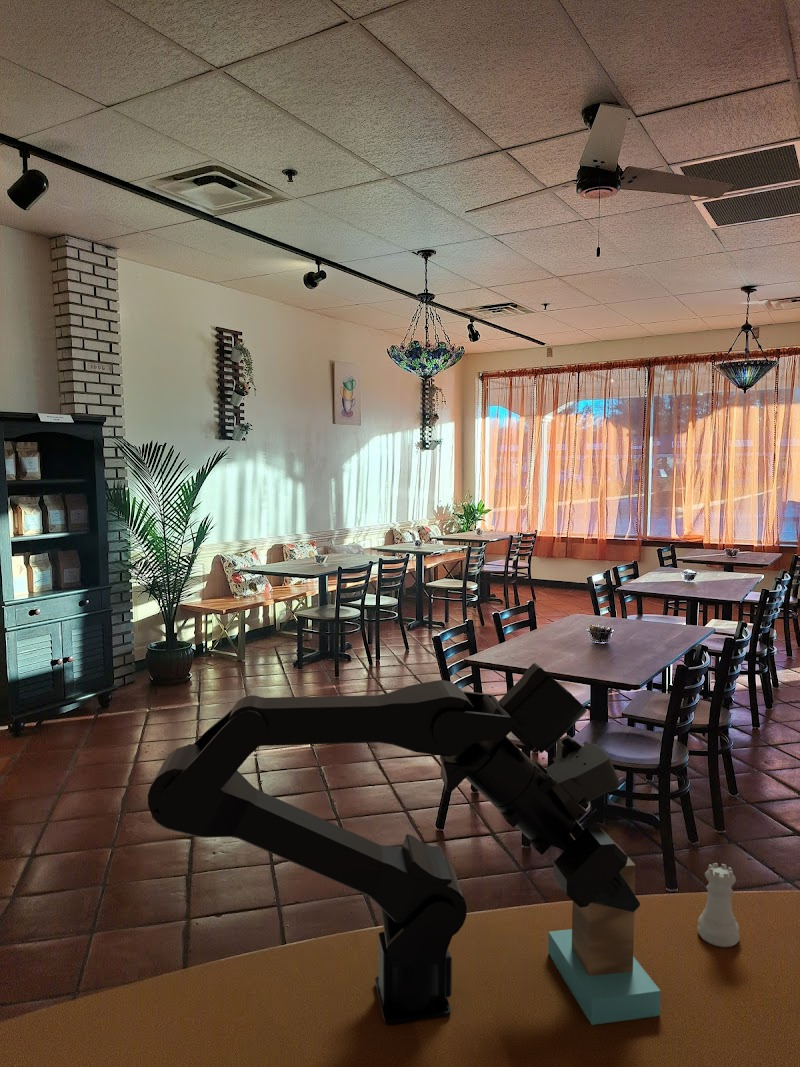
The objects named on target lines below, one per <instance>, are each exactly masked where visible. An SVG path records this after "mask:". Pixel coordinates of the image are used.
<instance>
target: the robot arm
mask: <svg viewBox="0 0 800 1067" xmlns="http://www.w3.org/2000/svg"><path fill="white" fill-rule="evenodd" d="M587 712H588V710H587V708H586V707H585V706H584V705H583V704H582V703H581V702H580V701H579V700H578V699H577V698H576V697H575V696H574V695H573V694H572V693H571V692H570V691H569V690H567V688H565V687H564V686H563V685H562V684H561V683H559V682H558V681H557V680H556V679H555V678H554V677H551V676H550V675H549V674H548V672H546V670H544V669H543V667H541V666H540V665H539V664H537V663H536V662H534V663H532V664H530V666H529V667H528V668H527V669H526V670H525V671H524V673H523V674H522V677H521V678H520V679H519V680H517V682H516V683H515V684H514V685H513V686H512V687H511V688H510V689H509V690H508V691H507V692H506V693H505V694H504V695H503V696H502V697H501V698H500V699H499V700H498V699H497V698H496V696H495V695H494V694H491V693H482V692H475V691H474V692H473V691H466V690H462V689H461V688H460V687H459V685H457V684H456V683H455V682H452V681H449V680H445V679H444V680H443V679H439V680H432V681H431V680H430V681H426V682H423V683H422V682H421V683H416V684H412V685H408V686H405V687H401V688H399V689H396V690H394V691H391V692H388V693H383V694H378V695H375V694H374V695H337V696H336V695H334V696H333V695H332V696H331V695H329V696H286V697H285V696H281V697H262V696H259V695H247V696H244V697H242V698H240V699H239V700H237V701H236V702H235V704H234V705H233V706H232V708H231V709H230V710H229V711H228V712H227V713H226V714H225V715H224V716H222V718H220V719H219V720H218V721H217V722H215V723H213V725H211V726H210V727H209V728H208V729H207V730H206V731H204V732H203V734H201V736H200V737H199V738H198V739H196V740H195V742H194V743H188V744H187V745H183V746H181V747H177V748H175V750H173V751H172V752H170V753H169V754H168V755H167V756H166V758H165V759H164V761H163V763H162V764H161V766H160V768H159V769H158V772H157V774H156V775H155V777H154V779H153V781H152V783H151V785H150V787H149V790H148V793H147V806H148V808H149V811H150V814H151V819H153V821H154V822H155V823H156V824H157V825H159V826H160V827H162V828H164V829H166V830H168V831H169V830H170V831H172V832H173V831H174V832H177V833H181V834H186V835H188V836H192V837H198V838H202V839H203V838H204V839H205V838H235V839H238V840H240V841H243V842H246V844H250V845H252V846H254V847H256V848H259V849H261V850H263V851H266V852H268V853H269V854H272V855H275V856H277V857H279V858H281V859H283V860H287V861H289V862H291V863H293V864H294V865H297V866H300V867H301V868H304V869H306V870H309V871H310V872H313V873H315V874H318V875H320V876H323V877H324V878H326V879H329V880H332V881H334V882H336V883H338V884H340V885H342V886H345V887H347V888H350V889H352V890H353V891H356V892H358V893H361V894H363V895H365V896H367V897H369V898H370V899H371V900H373V902H375V903H376V905H378V907H380V912H381V913H380V914H381V919H382V925H383V926H382V927H383V931H381V932H379V933H378V976H376V977H375V979H374V981H375V982H374V983H375V987H376V993H377V997H378V1001H379V1005H380V1008H381V1013H382V1014H381V1016H382V1019H383V1021H384V1022H383V1023H385V1024H387V1025H394V1024H400V1023H409V1022H417V1021H418V1022H419V1021H426V1020H432V1019H441V1018H448V1017H450V1016H451V1014H452V1013H451V1012H452V1008H451V1005H450V1002H449V1000H448V999H449V998H451V996H452V985H453V984H452V983H453V982H452V979H453V977H452V976H453V974H452V973H453V971H452V969H453V968H452V967H453V965H452V964H453V963H452V961H453V958H452V955H451V953H450V950H449V947H450V943H451V941H452V939H453V936H454V935H456V934H457V933H459V931H460V930H461V928H463V926H464V924H465V921H466V918H467V913H468V911H467V910H468V909H467V908H468V906H467V904H466V900H465V898H464V895H463V892H462V888H461V886H460V882H459V880H458V877H457V873H456V871H455V868H454V866H453V864H452V862H451V861H450V860H449V858H447V857H446V856H445V855H444V852H443V850H442V846H436V845H435V846H433V845H430V844H426V843H424V842H422V841H421V840H419V838H417V837H415V836H413V835H411V834H406V835H405V838H404V840H403V844H402V845H397V846H394V845H393V846H385V845H381V844H379V843H376V842H374V841H373V840H370V839H367V838H365V837H363V836H362V835H358V834H356V833H354V832H352V831H350V830H348V829H346V828H344V827H341V826H339V825H336V824H335V823H332V822H330V821H329V820H326V819H324V818H321V817H319V816H317V815H315V814H312V813H311V812H308V811H306V810H303V809H302V808H300V807H297V806H294V805H292V804H290V803H288V802H286V801H284V800H281V799H280V798H277V797H275V796H272V795H270V794H268V793H265V792H263V791H261V790H259V789H257V788H256V787H255V786H254V785H252V784H251V783H250V782H249V781H248V780H247V778H245V777H244V776H243V775H242V773H241V772H240V771H239V769H240V767H241V766H243V764H244V762H245V761H246V760H247V759H248V757H249V756H250V755H251V754H253V752H255V750H256V749H257V748H260V747H265V746H266V747H268V746H270V747H273V746H299V745H300V746H302V745H303V746H307V745H337V744H338V745H339V744H340V745H343V744H345V745H347V744H373V743H374V744H375V743H377V744H379V743H380V744H386V745H393V746H395V747H398V748H402V749H405V750H407V751H411V752H414V753H418V754H425V755H426V754H428V755H432V756H433V755H434V756H439V759H440V763H441V766H440V774H439V775H440V778H441V780H442V782H443V785H444V787H445V789H446V791H447V792H453V791H455V789H456V788H457V787H458V786H459V785H461V783H462V782H463V781H464V780H465V779H466V780H467V781H468V782H469V784H471V785H472V786H473V787H474V788H475V790H477V791H478V792H479V793H480V794H481V795H483V797H484V798H485V799H486V800H488V802H489V803H491V804H492V805H493V806H494V808H496V809H497V810H498V811H499V813H500V814H501V816H502V817H503V818H504V820H505V821H506V823H508V825H510V827H512V829H514V828H515V827H516V828H517V829H518V830H519V831H520V832H521V833H522V834H523V835H524V836H525V837H526V838H528V840H529V842H530V844H531V845H532V846H533V848H534V850H536V851H537V852H538V853H539V854H540V855H541V856H542V855H544V854H545V853H546V852H547V851H548V850H549V849H550V847H552V848H557V849H559V850H561V851H563V852H562V853H561V854H560V855H559V856H558V857H557V858H556V859H555V860H554V861H553V877H554V879H555V880H556V882H558V885H560V888H561V889H562V890H563V892H564V893H565V895H566V896H567V897H568V898H569V899H571V901H572V902H573V901H574V902H575V903H576V904H577V905H578V906H579V907H580V908H582V907H587V906H588V905H589V904H590V903H594V904H600V905H605V906H609V907H613V908H617V909H621V910H625V911H629V912H634V913H635V912H636V911H637V910H638V909H639V907H640V906H641V903H640V901H639V899H638V897H637V896H636V893H635V894H634V893H633V891H632V890H631V888H630V887H629V885H628V884H627V882H626V880H625V879H624V877H623V876H622V874H621V872H620V871H621V870H622V869H623V868H624V867H625V866H626V864H627V859H628V857H629V856H628V855H627V854H626V852H625V851H622V850H621V849H622V848H621V847H620V845H618V843H616V842H615V841H614V840H613V839H612V837H611V836H609V835H608V834H607V833H606V832H605V831H604V829H602V828H601V827H600V826H596V827H595V826H593V827H591V826H590V827H586V828H583V826H582V825H581V824H580V823H579V821H580V820H581V819H582V818H583V817H584V816H585V814H586V813H587V811H586V809H585V808H584V807H583V806H582V805H584V804H587V803H589V802H591V801H593V800H595V799H597V798H598V797H601V796H603V795H604V794H606V793H608V792H609V793H612V792H614V791H616V790H618V789H619V787H620V786H621V782H620V779H619V777H618V774H617V771H616V770H615V767H614V766H613V763H612V760H611V758H610V757H609V755H608V753H606V752H605V751H604V750H603V749H602V748H600V746H599V745H597V744H596V743H589V742H588V741H587V740H586V741H584V742H583V745H582V744H580V743H579V742H578V741H577V740H575V739H574V738H573V737H571V736H570V735H569V734H568V735H565V734H566V733H567V732H569V730H570V729H571V728H572V727H573V726H574V725H575V724H576V723H578V721H579V720H580V719H581V718H582V717H583V716H584V715H585V714H586V713H587ZM510 733H511V734H513V735H514V736H515V738H517V740H518V741H519V742H520V743H522V744H523V746H525V748H527V749H528V750H529V751H530V752H531V753H533V752H534V751H535V750H537V751H538V752H539V753H540V754H543V753H544V751H546V752H548V751H550V750H551V748H553V747H554V745H555V744H556V745H555V746H556V747H555V757H552V760H553V763H552V764H550V765H549V766H547V767H545V766H543V765H542V764H541V763H540V762H539V761H538V760H535V761H534V759H531V758H529V756H527V755H526V753H524V752H523V751H522V750H521V748H519V747H518V746H517V745H516V744H515V743H514V741H512V740H511V739H510V738H509V737H508V735H509V734H510ZM620 848H621V849H620Z"/></svg>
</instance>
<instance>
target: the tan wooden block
mask: <svg viewBox="0 0 800 1067" xmlns="http://www.w3.org/2000/svg"><path fill="white" fill-rule="evenodd" d="M620 849H621V850H622V848H621V847H620ZM622 851H623V850H622ZM623 852H624V851H623ZM636 866H637V865H636V864H635V862H633V861H632V859H631V858H630V857H629V856H628V859H627V864H626V866H625V867H624V868H623V869H622V870H621V871H620V872H621V874H622V876H623V877H624V879H625V880H626V882H627V884H628V885H629V887H630V888H631V890H632V891H633V893H634V894H635V895H636V872H637V871H636V868H637V867H636ZM571 908H572V909H571V910H572V912H571V913H572V915H571V929H572V949H573V951H574V952H575V954H576V956H577V957H578V959H579V961H580V962H581V964H582V966H583V967H584V969H585V971H586V972H587V974H588V976H593V975H604V974H614V973H624V972H633V956H634V942H635V939H634V938H635V936H634V935H635V911H634V912H629V911H625V910H621V909H617V908H613V907H609V906H605V905H600V904H594V903H590V904H589V905H588V906H587V907H582V908H580V907H579V906H578V905H577V904H576V903H575V902H574V901H573V900H572V907H571Z"/></svg>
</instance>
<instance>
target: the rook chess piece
mask: <svg viewBox="0 0 800 1067" xmlns="http://www.w3.org/2000/svg"><path fill="white" fill-rule="evenodd" d="M707 868H708V869H707V870H706V871H705V872H704V878H706V880H707V881H708V884H707V885H706V887H705V888H706V890H707V899H706V904H705V908H704V909H703V910H702V913H701V914H700V915H699V917H698V919H697V923H698V926H697V927H696V928H697V933H698V934H699V936H700V937H701V938H702V939H703V940H704V941H705V942H707V943H708V944H710V945H713V946H714V947H719V948H732V947H734V946H735V945H737V943H738V942H739V941H740V940H741V938H740V934H739V933H740V927H739V923H738V922H737V921H736V917H735V916H734V914H733V904H732V896H733V895H734V890H733V889H732V887H733V886H734V885H735V883H736V882H737V878H736V876H735V875H734V873H733V868H732V867H730V866H729V867H727V865H726V864H724V863H721V866H720V867H719V864H718V863H717V862H715V863H712V864H710V863H709V864H708V867H707Z"/></svg>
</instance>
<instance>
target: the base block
mask: <svg viewBox="0 0 800 1067" xmlns="http://www.w3.org/2000/svg"><path fill="white" fill-rule="evenodd" d="M547 942H548V945H547V946H548V949H547V950H548V952H547V954H548V953H549V954H550V956H551V958H552V959H551V958H550V959H551V961H552V960H553V961H554V962H553V961H552V962H553V964H554V963H555V964H554V966H555V965H556V966H555V967H556V969H557V970H559V971H558V972H559V974H560V973H561V974H560V976H561V975H562V976H561V977H562V979H563V981H564V982H565V984H566V985H567V987H568V989H569V991H570V992H571V993H572V995H573V998H574V999H575V1000H576V1002H577V1003H578V1005H579V1007H580V1008H581V1010H582V1012H583V1013H584V1016H586V1018H587V1020H588V1021H589V1023H590V1025H591V1026H595V1025H602V1024H607V1023H608V1024H609V1023H610V1024H611V1023H617V1022H623V1021H630V1020H631V1021H632V1020H639V1019H645V1018H653V1017H660V1016H661V993H662V992H661V989H660V988H659V987H658V985H657V984H656V983H655V982H654V981H653V980H652V978H651V977H650V975H649V974H648V973H647V971H646V970H645V969H644V968H643V967H642V966H641V964H640V963H639V961H638V960H637V959H636V958H635V956H634V955H633V972H624V973H614V974H604V975H593V976H588V974H587V972H586V971H585V969H584V967H583V966H582V964H581V962H580V961H579V959H578V957H577V956H576V954H575V952H574V951H573V949H572V928H571V929H570V928H568V929H562V930H561V929H560V930H552V931H548V941H547ZM549 954H548V955H549ZM550 956H549V957H550Z"/></svg>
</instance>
